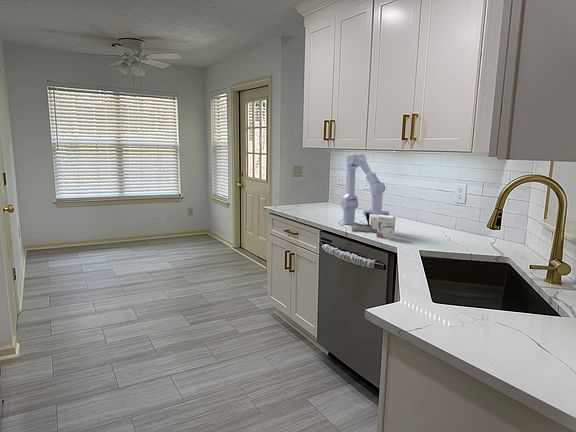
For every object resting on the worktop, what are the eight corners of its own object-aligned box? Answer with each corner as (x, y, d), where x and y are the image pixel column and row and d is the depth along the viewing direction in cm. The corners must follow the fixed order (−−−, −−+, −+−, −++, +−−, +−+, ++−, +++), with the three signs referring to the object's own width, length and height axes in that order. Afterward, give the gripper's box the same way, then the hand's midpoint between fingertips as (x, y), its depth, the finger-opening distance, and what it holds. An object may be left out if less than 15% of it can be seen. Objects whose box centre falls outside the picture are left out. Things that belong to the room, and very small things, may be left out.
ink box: (376, 237, 222) (377, 215, 220) (378, 235, 226) (380, 214, 224) (392, 239, 218) (393, 217, 216) (394, 237, 222) (396, 216, 220)
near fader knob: (371, 227, 239) (372, 218, 238) (377, 227, 239) (378, 219, 238) (372, 229, 234) (372, 220, 233) (378, 229, 234) (379, 220, 233)
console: (351, 225, 251) (351, 223, 250) (383, 227, 248) (383, 225, 248) (351, 231, 234) (352, 229, 234) (385, 233, 231) (385, 231, 231)
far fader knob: (370, 224, 248) (371, 216, 247) (376, 224, 247) (376, 216, 246) (370, 226, 243) (371, 217, 242) (376, 226, 243) (377, 218, 242)
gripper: (364, 204, 231) (362, 227, 233) (390, 205, 229) (388, 228, 231) (363, 202, 238) (362, 224, 240) (389, 203, 236) (387, 226, 238)
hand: (375, 226), depth 236 cm, fingers open, 7 cm apart
